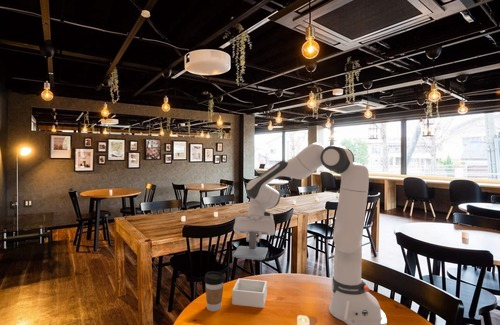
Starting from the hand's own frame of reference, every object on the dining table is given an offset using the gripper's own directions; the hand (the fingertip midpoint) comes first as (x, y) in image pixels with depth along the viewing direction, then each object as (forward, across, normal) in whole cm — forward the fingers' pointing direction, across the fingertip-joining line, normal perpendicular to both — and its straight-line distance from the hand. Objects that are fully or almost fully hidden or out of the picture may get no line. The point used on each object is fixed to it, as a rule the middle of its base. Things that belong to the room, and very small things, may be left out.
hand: (252, 241), depth 126 cm
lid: (+6, 0, +1) cm, 6 cm away
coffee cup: (+28, -14, +9) cm, 33 cm away
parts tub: (+21, 0, +16) cm, 26 cm away
